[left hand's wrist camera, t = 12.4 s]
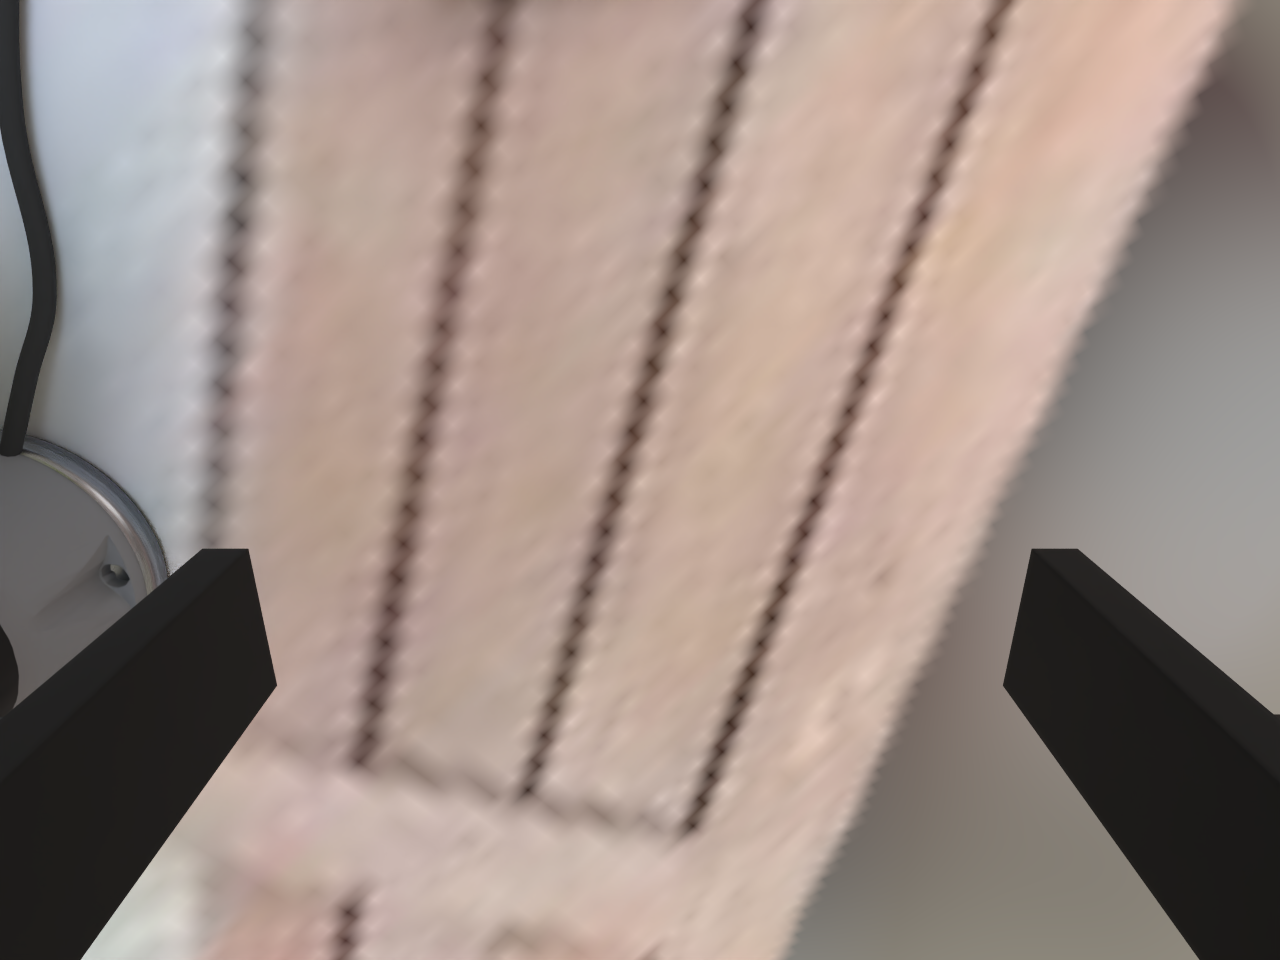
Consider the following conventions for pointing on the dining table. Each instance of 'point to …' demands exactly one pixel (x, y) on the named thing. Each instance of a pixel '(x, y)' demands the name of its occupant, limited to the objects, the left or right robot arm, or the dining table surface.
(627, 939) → the dining table surface
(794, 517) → the dining table surface
